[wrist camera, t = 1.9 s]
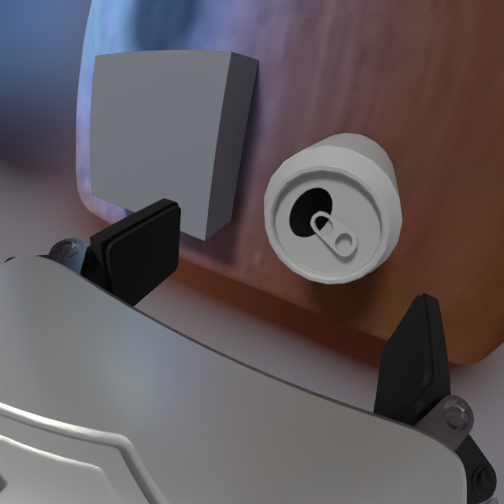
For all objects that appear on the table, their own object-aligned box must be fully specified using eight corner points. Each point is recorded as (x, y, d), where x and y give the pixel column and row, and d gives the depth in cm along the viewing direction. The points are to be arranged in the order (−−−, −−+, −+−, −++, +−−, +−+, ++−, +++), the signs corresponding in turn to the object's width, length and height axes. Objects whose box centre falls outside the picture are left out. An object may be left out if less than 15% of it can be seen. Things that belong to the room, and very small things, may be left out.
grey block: (258, 60, 21) (231, 51, 17) (231, 220, 30) (204, 240, 26) (129, 56, 26) (95, 56, 22) (121, 182, 34) (91, 194, 30)
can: (336, 114, 21) (295, 117, 12) (412, 168, 21) (436, 218, 11) (293, 186, 26) (228, 241, 16) (362, 234, 25) (341, 320, 15)
